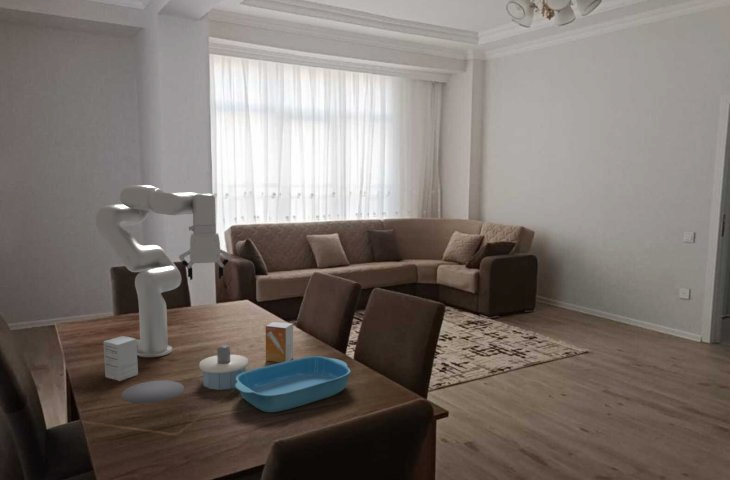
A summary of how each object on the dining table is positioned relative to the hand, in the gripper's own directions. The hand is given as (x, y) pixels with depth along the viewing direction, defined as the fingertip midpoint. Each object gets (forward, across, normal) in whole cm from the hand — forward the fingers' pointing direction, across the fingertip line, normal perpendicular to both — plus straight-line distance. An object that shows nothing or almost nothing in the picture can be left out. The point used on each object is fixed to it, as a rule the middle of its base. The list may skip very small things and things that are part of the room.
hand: (205, 278), depth 195 cm
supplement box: (+31, -27, -7) cm, 42 cm away
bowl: (+30, +5, -21) cm, 37 cm away
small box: (+30, +25, -3) cm, 39 cm away
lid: (+24, +5, -21) cm, 33 cm away
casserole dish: (+31, +25, -36) cm, 54 cm away
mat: (+30, -16, -24) cm, 42 cm away
